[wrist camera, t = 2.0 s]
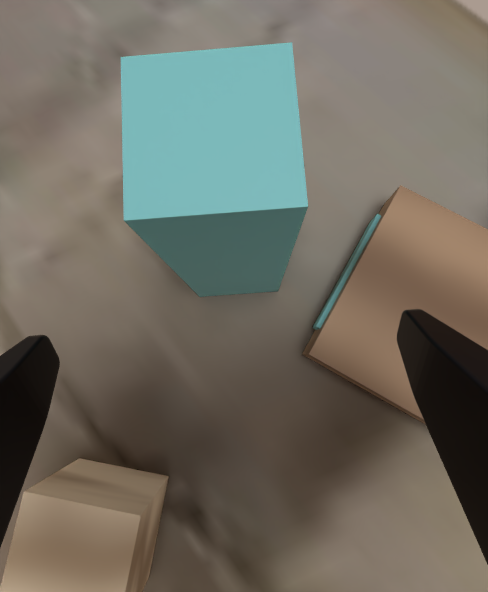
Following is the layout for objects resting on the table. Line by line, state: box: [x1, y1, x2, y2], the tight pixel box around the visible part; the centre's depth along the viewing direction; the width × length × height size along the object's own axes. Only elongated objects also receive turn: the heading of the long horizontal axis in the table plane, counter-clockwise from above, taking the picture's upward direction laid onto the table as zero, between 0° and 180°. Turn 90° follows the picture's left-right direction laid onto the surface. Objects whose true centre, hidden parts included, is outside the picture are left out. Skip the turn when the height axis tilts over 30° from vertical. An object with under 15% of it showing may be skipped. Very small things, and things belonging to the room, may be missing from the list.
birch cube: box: [0, 458, 169, 592], centre depth 17 cm, size 5×5×5 cm
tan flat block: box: [303, 185, 488, 424], centre depth 20 cm, size 10×10×3 cm
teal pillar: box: [121, 43, 308, 297], centre depth 16 cm, size 4×4×12 cm
